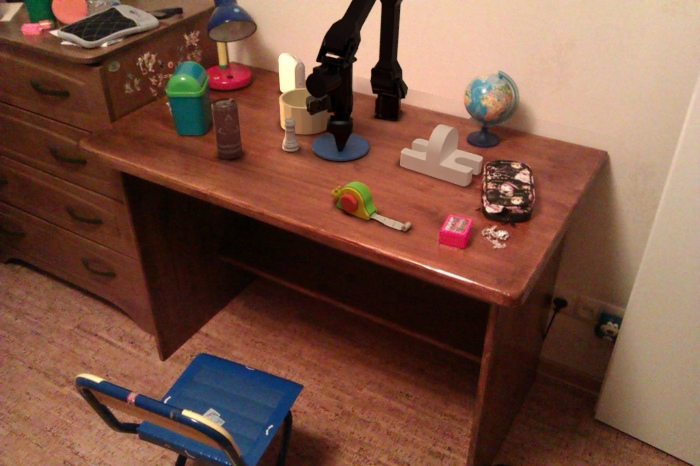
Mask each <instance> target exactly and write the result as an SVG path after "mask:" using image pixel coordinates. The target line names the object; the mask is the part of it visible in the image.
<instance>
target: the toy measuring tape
mask: <svg viewBox="0 0 700 466" xmlns="http://www.w3.org/2000/svg"><path fill="white" fill-rule="evenodd" d="M331 197H332V198H333V199H334V200H336V201H337V202H336V207H337V208H338V209H341V210H344V211H345V212H346V213H348V214H349V215H352V216H355V217H358V218H360V219H363V220H364V221H369V220H371V219H372V220H373V219H374V220H376V221H378V222H380V223H381V224H383V225H385V226H387V227H389V228H392V229H394V230H397V231H402V232H403V233H404V232H407V231H408V230H409V229H410V228H411V227H412V223H411V222H410V221H406V222H405V223H403V222H401V221H397V220H395V219H391V218H389V217H386V216H383V215H380V214H378V212H379V211H378V208H377V206H376V205H375V204H374V199H373V194H372V192H371V190H370V188H369V187H368V186H367V185H366V184H365V183H362V182H361V181H355V180H354V181H351V182H349V183H348V184H346V185H345V186H344V187H342V186H341V185H338V186H337V187H335V188H333V189H332V191H331Z"/></svg>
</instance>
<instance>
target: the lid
mask: <svg viewBox="0 0 700 466" xmlns="http://www.w3.org/2000/svg"><path fill="white" fill-rule="evenodd" d="M311 150H312V152H313V153H314V154H315V155H316V156H318V157H319V158H322V159H324V160H327V161H336V162H338V161H339V162H345V161H352V160H356V159H359V158H361V157H364V156H365V155H367V153H369V150H370V143H369V141H368V140H367V139H366V137H365V138H364V137H363V136H362V135H359V134H357V133H356V134H355V133H352V134H351V135H350V137H349V139H348V141H347V143H346V145H345V147H344V149H343V151H342V152H338V150H337V146H336V142H335V138H334V135H332V134H330V133H328V132H327V133H325V134H321V135H320V136H317V137H316V138H315V139H313V141H312V142H311Z"/></svg>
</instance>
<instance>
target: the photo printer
mask: <svg viewBox="0 0 700 466" xmlns="http://www.w3.org/2000/svg"><path fill="white" fill-rule="evenodd" d="M278 75H279V76H278V77H279V90H280V92H281V93H282V94H283V93H284V92H287V91H289V90H293V89H298V88H306V66H305V63H304V62H303V61H302V59H301V58H299V57H298V56H297V55H295V54H294V53H292V52H291V53H290V52H283V53H280V54H279V57H278Z"/></svg>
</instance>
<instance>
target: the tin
mask: <svg viewBox="0 0 700 466" xmlns="http://www.w3.org/2000/svg"><path fill="white" fill-rule="evenodd" d="M308 96H311V95H310V93H309V92H308V90H307V88H298V89H293V90H289V91H287V92H284V93H283V92H282V94H281V95H279V97H278V98H279V99H278V100H279V114H280V115H279V116H280V117H279V119H280V127H281V128H282V129H283V130H284V129H285V126H284V125H283V123H284V120H285V119H286V118H288V119H290V118H294V120H295V122H296V125H295V128H296V129H295V135H305V136H306V135H307V136H308V135H315V134H319V133H322V132H325V131H327V118H328V117H329V116H330V115H332V113H327V109H326V110H325V111H322V112H319V113H316V114H315V115H310V114H309V112H307V107H306V105H305V101H306V98H307V97H308Z"/></svg>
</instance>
